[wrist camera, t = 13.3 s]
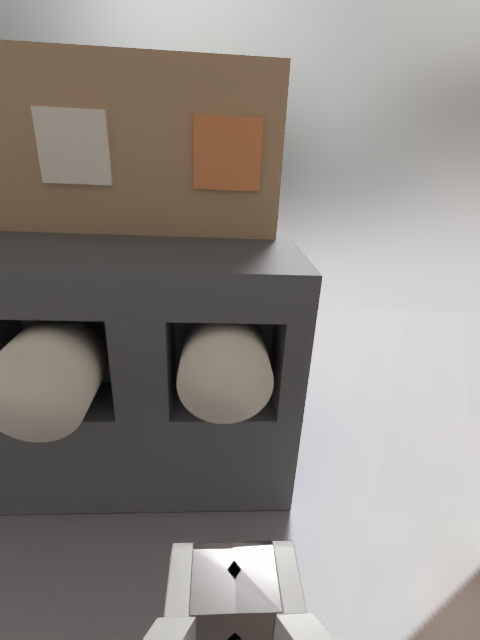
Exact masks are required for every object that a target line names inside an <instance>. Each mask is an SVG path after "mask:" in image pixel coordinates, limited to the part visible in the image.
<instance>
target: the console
mask: <svg viewBox="0 0 480 640" xmlns="http://www.w3.org/2000/svg"><path fill="white" fill-rule="evenodd" d="M290 60H291V59H290V58H276V57H261V56H245V55H230V54H229V55H228V54H214V53H199V52H183V51H168V50H153V49H137V48H121V47H106V46H90V45H75V44H59V43H44V42H29V41H13V40H0V350H2V349H3V348H4V347H5V346H6V345H7V344H8V343H9V342H10V341H11V340H12V339H13V338H14V337H16V336H17V335H18V334H19V333H20V332H21V331H22V330H23V329H24V328H25V327H26V326H27V325H29V324H30V323H32V322H33V321H35V320H48V321H79V322H81V323H83V324H85V325H87V326H88V327H89V328H91V329H92V330H93V331H94V332H95V333H96V334H97V335H98V336H99V337H100V338H101V340H102V341H103V343H104V345H105V347H106V350H107V353H108V368H107V372H106V374H105V376H104V378H103V380H102V382H101V384H100V386H99V388H98V390H97V392H96V394H95V396H94V398H93V400H92V402H91V404H90V406H89V408H88V410H87V412H86V414H85V416H84V419H83V421H82V422H81V424H80V425H79V427H78V428H77V429H76V430H75V431H74V432H72V433H71V434H69V435H68V436H66V437H64V438H62V439H59V440H55V441H51V442H41V443H38V442H27V441H23V440H19V439H16V438H13V437H10V436H8V435H6V434H4V433H2V432H0V515H30V514H89V513H148V512H207V511H266V510H291V503H292V495H293V488H294V480H295V473H296V466H297V458H298V451H299V444H300V436H301V429H302V422H303V414H304V407H305V400H306V392H307V385H308V378H309V370H310V363H311V355H312V348H313V341H314V333H315V326H316V318H317V311H318V304H319V297H320V289H321V282H322V275H321V274H320V272H319V271H318V270H317V269H316V268H315V267H314V265H313V264H312V263H311V262H310V261H309V259H308V258H307V257H306V256H305V255H304V253H303V252H302V251H301V250H300V249H299V248H298V246H297V245H296V244H295V243H294V242H293V240H292V239H291V238H290V237H289V235H288V234H287V233H286V232H285V231H284V230H277V220H278V207H279V194H280V183H281V170H282V159H283V145H284V134H285V122H286V109H287V97H288V85H289V73H290ZM192 323H229V324H257V325H258V326H259V328H260V329H261V332H262V334H263V337H264V341H265V345H266V349H267V353H268V357H269V361H270V365H271V369H272V373H273V378H274V386H273V391H272V394H271V397H270V399H269V401H268V402H267V404H266V405H265V406H264V407H263V409H262V410H260V411H259V412H258V413H257V414H255V415H254V416H252V417H251V418H249V419H246V420H244V421H241V422H237V423H232V424H216V423H211V422H207V421H204V420H202V419H200V418H198V417H196V416H195V415H193V414H192V413H191V412H189V411H188V410H187V409H186V407H185V406H184V405H183V404H182V402H181V400H180V398H179V396H178V392H177V386H176V383H177V375H178V369H179V363H180V357H181V352H182V346H183V341H184V336H185V334H186V332H187V330H188V328H189V327H190V325H191V324H192Z"/></svg>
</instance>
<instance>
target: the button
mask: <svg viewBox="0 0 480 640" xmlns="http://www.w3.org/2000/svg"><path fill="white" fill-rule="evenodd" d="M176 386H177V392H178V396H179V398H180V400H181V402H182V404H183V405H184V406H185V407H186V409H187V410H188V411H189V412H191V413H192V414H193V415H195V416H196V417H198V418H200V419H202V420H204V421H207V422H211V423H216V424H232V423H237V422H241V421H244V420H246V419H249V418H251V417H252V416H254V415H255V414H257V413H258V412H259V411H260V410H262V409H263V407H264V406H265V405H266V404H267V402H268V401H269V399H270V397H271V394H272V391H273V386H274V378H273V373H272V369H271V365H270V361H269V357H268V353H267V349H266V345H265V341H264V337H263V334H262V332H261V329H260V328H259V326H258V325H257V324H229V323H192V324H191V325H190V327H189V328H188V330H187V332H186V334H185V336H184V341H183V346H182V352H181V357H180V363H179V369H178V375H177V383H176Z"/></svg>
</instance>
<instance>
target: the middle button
mask: <svg viewBox="0 0 480 640" xmlns="http://www.w3.org/2000/svg"><path fill="white" fill-rule="evenodd" d="M107 368H108V353H107V350H106V347H105V345H104V343H103V341H102V340H101V338H100V337H99V336H98V335H97V334H96V333H95V332H94V331H93V330H92V329H91V328H89V327H88V326H87V325H85V324H83V323H81V322H79V321H48V320H35V321H33V322H32V323H30V324H29V325H27V326H26V327H25V328H24V329H23V330H22V331H21V332H20V333H19V334H18V335H17V336H16V337H14V338H13V339H12V340H11V341H10V342H9V343H8V344H7V345H6V346H5V347H4V348H3V349H2V350H0V432H2V433H4V434H6V435H8V436H10V437H13V438H16V439H19V440H23V441H27V442H38V443H41V442H51V441H55V440H59V439H62V438H64V437H66V436H68V435H69V434H71V433H72V432H74V431H75V430H76V429H77V428H78V427H79V425H80V424H81V422H82V421H83V419H84V416H85V414H86V412H87V410H88V408H89V406H90V404H91V402H92V400H93V398H94V396H95V394H96V392H97V390H98V388H99V386H100V384H101V382H102V380H103V378H104V376H105V374H106V372H107Z"/></svg>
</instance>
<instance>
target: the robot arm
mask: <svg viewBox="0 0 480 640" xmlns="http://www.w3.org/2000/svg"><path fill="white" fill-rule="evenodd" d="M142 640H334V638H333V637H332V636H331V635H330V633H329V632H328V631H327V629H326V628H325V627H324V626H323V624H322V623H321V622H320V620H319V619H318V618H317V617H316V615H315V614H314V613H311V612H307V609H306V604H305V599H304V594H303V589H302V584H301V579H300V574H299V569H298V563H297V558H296V553H295V548H294V545H293V543H292V541H291V540H290V541H246V542H233V543H173V545H172V549H171V556H170V565H169V573H168V582H167V591H166V599H165V608H164V617H160V618H157V619H156V620H155V622H154V623H153V624H152V626H151V627H150V629H149V630H148V632H147V633H146V635H145V636H144V638H143V639H142Z"/></svg>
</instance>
